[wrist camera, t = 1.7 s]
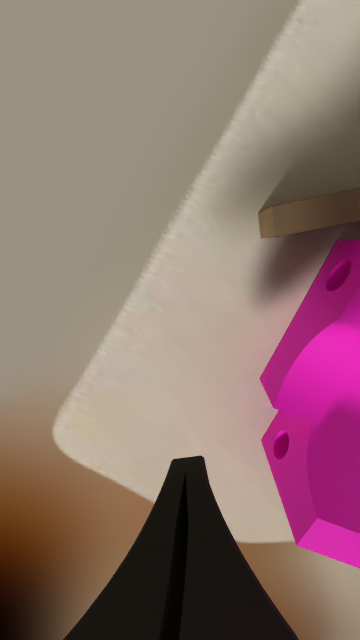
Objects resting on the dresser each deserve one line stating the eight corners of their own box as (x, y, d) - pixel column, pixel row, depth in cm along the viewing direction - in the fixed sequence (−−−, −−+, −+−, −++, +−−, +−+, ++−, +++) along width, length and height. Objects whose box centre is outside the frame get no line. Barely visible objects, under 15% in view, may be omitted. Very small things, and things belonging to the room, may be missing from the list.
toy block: (336, 240, 16) (447, 238, 9) (425, 279, 17) (597, 307, 10) (231, 429, 21) (251, 528, 13) (304, 457, 21) (362, 569, 14)
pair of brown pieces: (397, 184, 16) (443, 170, 13) (391, 472, 21) (423, 508, 18) (258, 212, 16) (272, 206, 13) (287, 484, 22) (302, 521, 19)
